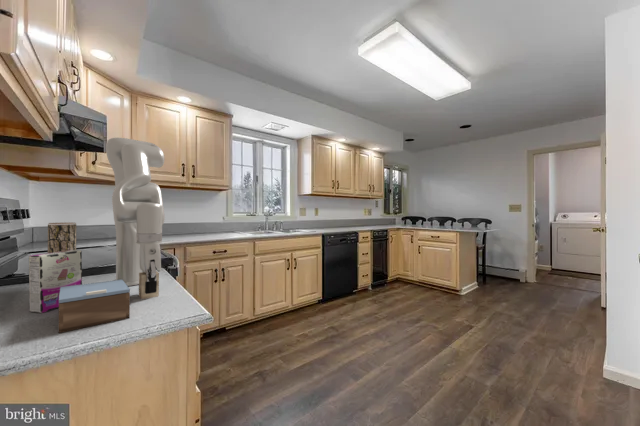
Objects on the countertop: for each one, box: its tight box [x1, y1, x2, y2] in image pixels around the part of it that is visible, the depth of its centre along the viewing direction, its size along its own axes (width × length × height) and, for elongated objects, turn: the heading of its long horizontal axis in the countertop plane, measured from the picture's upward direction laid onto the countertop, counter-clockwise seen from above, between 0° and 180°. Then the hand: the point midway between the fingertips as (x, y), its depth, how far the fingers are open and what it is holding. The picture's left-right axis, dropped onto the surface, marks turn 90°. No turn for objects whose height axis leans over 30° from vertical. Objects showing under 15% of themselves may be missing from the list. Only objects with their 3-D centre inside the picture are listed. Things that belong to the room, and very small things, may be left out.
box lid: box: [59, 279, 131, 303], centre depth 75 cm, size 15×14×1 cm
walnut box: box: [58, 291, 131, 334], centre depth 75 cm, size 15×14×7 cm
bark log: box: [47, 222, 77, 253], centre depth 89 cm, size 7×7×25 cm
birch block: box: [138, 270, 160, 300], centre depth 94 cm, size 5×5×8 cm
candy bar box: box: [28, 249, 83, 314], centre depth 82 cm, size 11×5×16 cm, turn 168°
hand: (148, 290), depth 94 cm, fingers open, 5 cm apart
